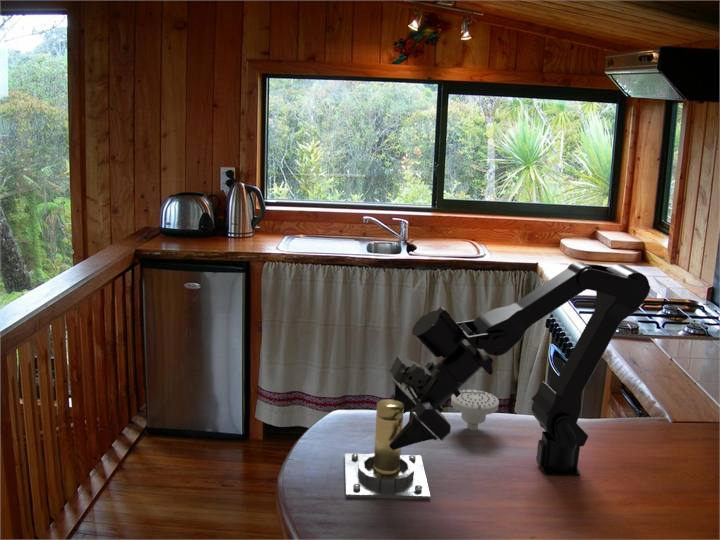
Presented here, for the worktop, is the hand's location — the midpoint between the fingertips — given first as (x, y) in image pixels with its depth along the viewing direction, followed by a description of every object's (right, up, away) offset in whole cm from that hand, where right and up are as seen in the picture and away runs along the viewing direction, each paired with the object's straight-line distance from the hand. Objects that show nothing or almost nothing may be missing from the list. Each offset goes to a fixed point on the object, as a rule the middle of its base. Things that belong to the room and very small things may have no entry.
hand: (384, 435), depth 132 cm
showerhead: (+18, -4, +22) cm, 29 cm away
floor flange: (0, -8, +2) cm, 8 cm away
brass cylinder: (0, -7, +2) cm, 7 cm away
